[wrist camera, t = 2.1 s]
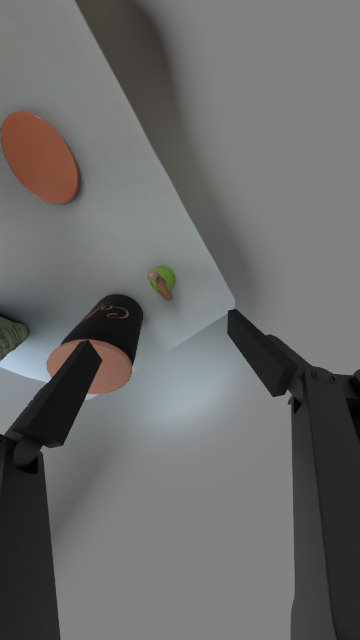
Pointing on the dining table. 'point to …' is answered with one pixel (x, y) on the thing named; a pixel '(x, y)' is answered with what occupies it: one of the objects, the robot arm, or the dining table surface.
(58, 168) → the terracotta coaster
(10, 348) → the pouch
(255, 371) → the robot arm
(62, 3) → the dining table surface
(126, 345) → the coffee jar
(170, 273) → the snail figurine
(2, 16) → the dining table surface
